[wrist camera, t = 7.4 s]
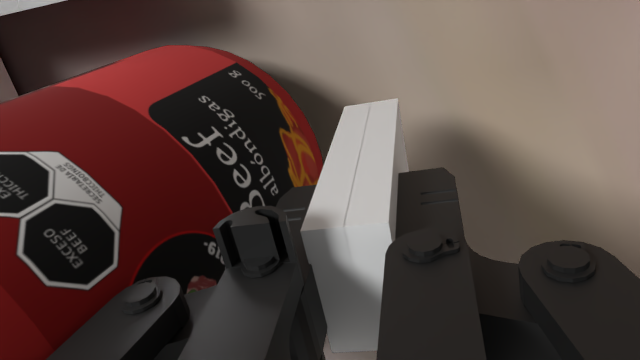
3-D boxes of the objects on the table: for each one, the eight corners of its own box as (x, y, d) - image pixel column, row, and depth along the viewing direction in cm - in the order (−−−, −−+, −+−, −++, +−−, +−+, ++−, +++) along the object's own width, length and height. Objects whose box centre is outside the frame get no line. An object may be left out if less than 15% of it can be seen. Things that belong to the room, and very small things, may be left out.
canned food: (342, 271, 17) (81, 663, 9) (156, 231, 21) (-169, 485, 12) (323, 38, 14) (-151, 298, 5) (102, 35, 17) (-413, 189, 8)
